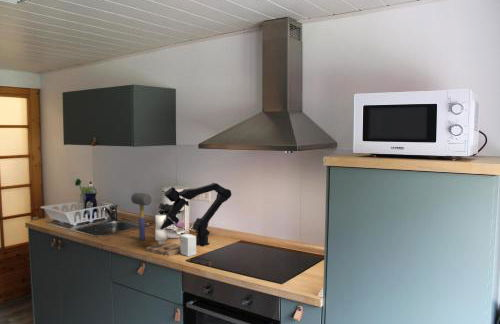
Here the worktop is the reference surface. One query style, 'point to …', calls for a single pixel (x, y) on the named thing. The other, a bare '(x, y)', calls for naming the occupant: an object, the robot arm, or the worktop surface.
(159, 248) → the socket board
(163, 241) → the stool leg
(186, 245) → the small box
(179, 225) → the cupcake
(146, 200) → the rubber mallet
